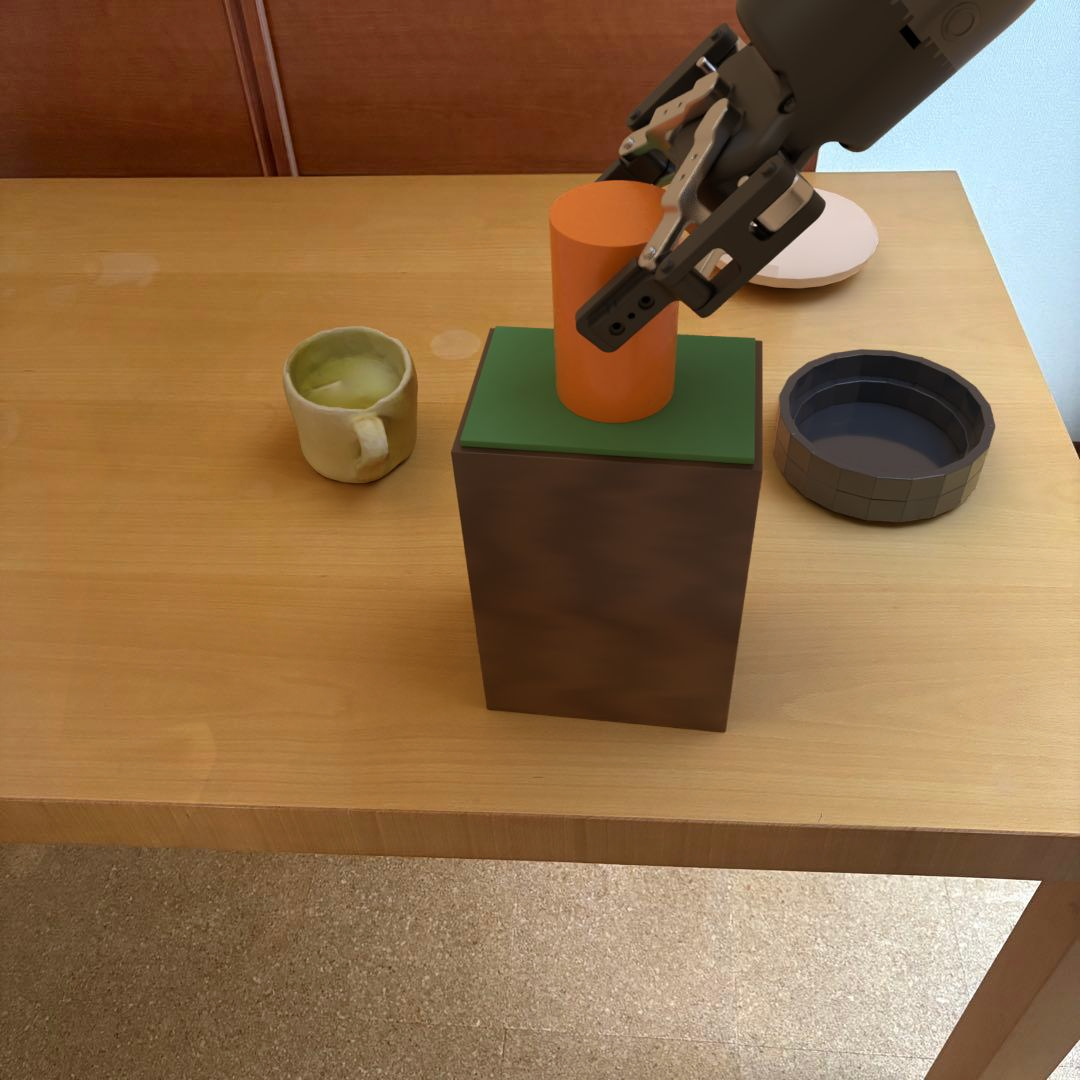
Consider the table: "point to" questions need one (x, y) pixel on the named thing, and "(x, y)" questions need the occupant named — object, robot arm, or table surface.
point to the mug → (353, 402)
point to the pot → (882, 435)
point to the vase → (822, 248)
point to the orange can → (580, 272)
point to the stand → (608, 578)
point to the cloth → (672, 433)
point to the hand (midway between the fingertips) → (584, 281)
